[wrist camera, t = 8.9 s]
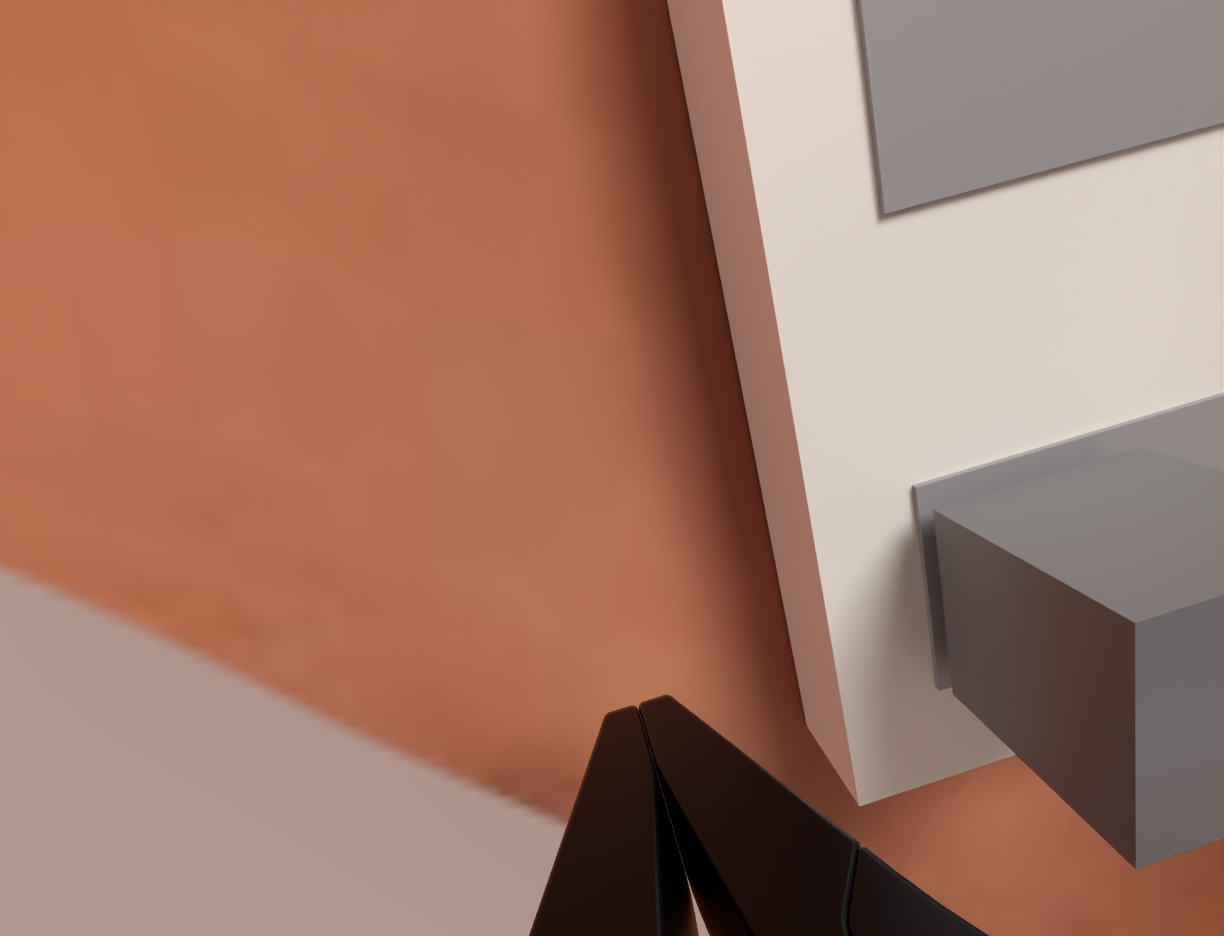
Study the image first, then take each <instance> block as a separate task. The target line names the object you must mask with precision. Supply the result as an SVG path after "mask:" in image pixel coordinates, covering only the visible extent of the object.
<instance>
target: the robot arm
mask: <svg viewBox="0 0 1224 936" xmlns="http://www.w3.org/2000/svg"><path fill="white" fill-rule="evenodd" d="M639 712H640V713H639ZM640 715H641V717H640ZM641 719H642V720H641ZM642 722H643V724H642ZM643 726H644V727H643ZM644 729H645V731H644ZM645 733H646V734H645ZM646 736H647V737H646ZM647 740H648V741H647ZM648 743H649V744H648ZM649 747H650V748H649ZM650 750H651V751H650ZM651 754H652V755H651ZM652 757H653V758H652ZM653 761H654V762H653ZM654 764H655V765H654ZM655 767H656V769H655ZM656 771H657V772H656ZM657 774H658V775H657ZM658 778H659V779H658ZM659 781H660V782H659ZM660 785H661V786H660ZM661 788H662V789H661ZM662 792H663V793H662ZM663 795H664V796H663ZM664 798H665V800H664ZM665 802H666V803H665ZM666 805H667V807H666ZM667 809H668V810H667ZM668 812H669V814H668ZM669 816H670V817H669ZM670 819H671V821H670ZM671 823H672V824H671ZM672 826H673V827H672ZM673 830H674V831H673ZM674 833H675V834H674ZM675 836H676V838H675ZM676 840H677V841H676ZM677 843H678V845H677ZM678 847H679V848H678ZM679 850H680V852H679ZM680 854H681V855H680ZM681 857H682V859H681ZM682 861H683V862H682ZM683 864H684V866H683ZM684 867H685V869H684ZM685 871H686V873H685ZM686 874H687V876H686ZM687 877H688V880H689V883H690V886H691V890H692V893H693V895H694V898H695V900H696V903H697V906H698V908H699V911H700V913H701V916H702V918H703V921H704V923H705V925H706V928H707V930H708V933H709V935H710V936H988V935H987V934H985V933H984V932H982V931H981V930H979V929H978V928H976V927H975V926H973V925H972V924H970V923H969V922H967V921H966V920H964V919H962V918H961V917H959V916H958V915H956V914H955V913H953V912H952V911H950V910H949V909H947V908H946V907H944V906H943V905H941V904H940V903H939V902H937V901H936V900H934V899H933V898H932V897H930V896H929V895H928V894H926V893H925V892H924V891H922V890H921V889H919V888H918V887H917V886H915V885H914V884H913V883H911V882H910V881H909V880H907V879H906V878H904V877H903V876H902V875H900V874H899V873H898V872H896V871H895V870H894V869H892V868H891V867H890V866H889V865H887V864H886V863H885V862H884V861H882V860H881V859H880V858H878V857H877V856H876V855H875V854H873V853H872V852H871V851H870V850H868V849H867V848H865V847H862V848H861V847H860V844H859V843H858V842H857V841H856V840H855V839H854V838H852V837H851V836H850V835H849V834H847V833H846V832H845V831H843V830H842V829H841V828H840V827H838V826H837V825H836V824H834V823H833V822H832V821H831V820H829V819H828V818H827V817H825V816H824V815H823V814H822V813H820V812H819V811H818V810H816V809H815V808H814V807H813V806H811V805H810V804H809V803H807V802H806V801H805V800H804V799H802V798H801V797H800V796H798V795H797V794H796V793H795V792H793V791H792V790H791V789H790V788H788V787H787V786H786V785H784V784H783V783H782V782H781V781H779V780H778V779H777V778H775V777H774V776H773V775H772V774H770V773H769V772H768V771H766V770H765V769H764V768H763V767H761V766H760V765H759V764H757V763H756V762H755V761H754V760H752V759H751V758H750V757H748V756H747V755H746V754H745V753H743V752H742V751H741V750H739V749H738V748H737V747H736V746H734V745H733V744H732V743H730V742H729V741H728V740H727V739H725V738H724V737H723V736H722V735H720V734H719V733H718V732H716V731H715V730H714V729H713V728H711V727H710V726H709V725H707V724H706V723H705V722H704V721H702V720H701V719H700V718H698V717H697V716H696V715H695V714H693V713H692V712H691V711H689V710H688V709H687V708H686V707H684V706H683V705H682V704H680V703H679V702H678V701H677V700H675V699H674V698H673V697H671V696H669V695H663V696H660V697H657V698H654V699H650V700H647V701H644V702H642V703H641V704H640V705H639V710H638V708H637V707H636V706H633V705H632V706H628V707H625V708H622V709H618V710H615V711H612V712H609V713H607V714H606V715H605V717H604V719H603V722H602V725H601V728H600V731H599V734H598V737H597V740H596V743H595V745H594V748H593V751H592V754H591V757H590V760H589V763H588V766H587V769H586V772H585V775H584V777H583V780H582V783H581V786H580V789H579V792H578V795H577V798H576V801H575V804H574V807H573V809H572V812H571V815H570V818H569V821H568V824H567V827H566V830H565V833H564V836H563V839H562V842H561V845H560V847H559V851H558V853H557V856H556V859H555V862H554V865H553V868H552V871H551V874H550V877H549V880H548V883H547V885H546V888H545V891H544V894H543V897H542V900H541V903H540V906H539V908H538V912H537V914H536V917H535V920H534V923H533V926H532V929H531V932H530V935H529V936H699V935H698V929H697V923H696V917H695V912H694V908H693V902H692V897H691V892H690V889H689V884H688V880H687Z"/></svg>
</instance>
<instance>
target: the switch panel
mask: <svg viewBox="0 0 1224 936" xmlns="http://www.w3.org/2000/svg"><path fill="white" fill-rule="evenodd" d="M667 3H668V8H669V13H670V19H671V24H672V29H673V34H674V39H675V45H676V50H677V55H678V60H679V65H680V71H681V76H682V81H683V86H684V91H685V97H686V102H687V107H688V112H689V117H690V123H691V128H692V133H693V138H694V143H695V148H696V154H697V159H698V164H699V169H700V174H701V180H702V185H703V190H704V195H705V200H706V206H707V211H708V216H709V221H710V226H711V232H712V237H713V242H714V247H715V252H716V258H717V263H718V268H719V273H720V278H721V283H722V289H723V294H724V299H725V304H726V309H727V315H728V320H729V325H730V330H731V335H732V341H733V346H734V351H735V356H736V361H737V367H738V372H739V377H740V382H741V387H742V393H743V398H744V403H745V408H746V413H747V418H748V424H749V429H750V434H751V439H752V444H753V450H754V455H755V460H756V465H757V470H758V476H759V481H760V486H761V491H762V496H763V502H764V507H765V512H766V517H767V522H768V528H769V533H770V538H771V543H772V548H773V553H774V559H775V564H776V569H777V574H778V579H779V585H780V590H781V595H782V600H783V605H784V611H785V616H786V621H787V626H788V631H789V637H790V642H791V647H792V652H793V657H794V663H795V668H796V673H797V678H798V683H799V688H800V694H801V699H802V704H803V709H804V714H805V720H806V725H807V727H808V729H809V730H810V732H811V733H812V735H813V736H814V738H815V739H816V741H817V742H818V744H819V746H820V747H821V749H822V750H823V752H824V753H825V755H826V756H827V758H828V759H829V761H830V762H831V764H832V765H833V767H834V769H835V770H836V772H837V773H838V775H839V776H840V778H841V779H842V781H843V782H844V784H845V785H846V787H847V789H848V790H849V792H850V793H851V795H852V796H853V798H854V799H855V801H856V802H857V804H858V805H859V807H860V806H863V805H866V804H869V803H872V802H875V801H878V800H881V799H884V798H887V797H890V796H893V795H896V794H899V793H902V792H905V791H908V790H911V789H914V788H917V787H920V786H923V785H926V784H929V783H932V782H935V781H938V780H941V779H944V778H947V777H950V776H954V775H957V774H960V773H963V772H966V771H969V770H972V769H975V768H978V767H981V766H984V765H987V764H990V763H993V762H996V761H999V760H1002V759H1005V758H1008V757H1011V756H1014V755H1016V754H1015V753H1014V752H1013V751H1012V750H1011V749H1010V748H1009V747H1007V746H1006V745H1005V744H1004V743H1003V742H1002V741H1001V740H1000V739H999V738H998V737H997V736H996V735H995V734H994V733H993V732H992V731H991V730H990V729H989V728H988V727H987V726H986V725H984V724H983V723H982V722H981V721H980V720H979V719H978V718H977V717H976V716H975V715H974V714H973V713H972V712H971V711H970V710H969V709H968V708H967V707H966V706H965V705H964V704H963V703H961V702H960V701H959V700H958V699H957V698H956V697H955V696H954V695H953V692H952V682H951V673H950V664H949V654H948V645H947V635H946V626H945V616H944V607H943V598H942V588H941V579H940V569H939V560H938V550H937V541H936V532H935V522H934V513H933V509H936V508H940V507H943V506H946V505H950V504H953V503H956V502H960V501H963V500H966V499H969V498H973V497H976V496H979V495H983V494H986V493H989V492H993V491H996V490H999V489H1003V488H1006V487H1009V486H1013V485H1016V484H1019V483H1022V482H1026V481H1029V480H1032V479H1036V478H1039V477H1042V476H1046V475H1049V474H1052V473H1056V472H1059V471H1062V470H1066V469H1069V468H1072V467H1076V466H1079V465H1082V464H1085V463H1089V462H1092V461H1095V460H1099V459H1102V458H1105V457H1109V456H1112V455H1115V454H1119V453H1122V452H1125V451H1129V450H1132V449H1135V448H1138V447H1140V448H1143V449H1147V450H1151V451H1154V452H1158V453H1161V454H1165V455H1168V456H1172V457H1176V458H1179V459H1183V460H1186V461H1190V462H1194V463H1197V464H1201V465H1204V466H1208V467H1211V468H1215V469H1219V470H1222V471H1224V0H667Z"/></svg>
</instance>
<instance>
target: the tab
mask: <svg viewBox="0 0 1224 936" xmlns="http://www.w3.org/2000/svg"><path fill="white" fill-rule="evenodd" d="M933 513H934V522H935V532H936V541H937V550H938V560H939V569H940V579H941V588H942V598H943V607H944V616H945V626H946V635H947V645H948V654H949V664H950V673H951V682H952V692H953V695H954V696H955V697H956V698H957V699H958V700H959V701H960V702H961V703H963V704H964V705H965V706H966V707H967V708H968V709H969V710H970V711H971V712H972V713H973V714H974V715H975V716H976V717H977V718H978V719H979V720H980V721H981V722H982V723H983V724H984V725H986V726H987V727H988V728H989V729H990V730H991V731H992V732H993V733H994V734H995V735H996V736H997V737H998V738H999V739H1000V740H1001V741H1002V742H1003V743H1004V744H1005V745H1006V746H1007V747H1009V748H1010V749H1011V750H1012V751H1013V752H1014V753H1015V754H1016V755H1017V756H1018V757H1019V758H1020V759H1021V760H1022V761H1023V762H1024V763H1025V764H1026V765H1027V766H1028V767H1029V768H1031V769H1032V770H1033V771H1034V772H1035V773H1036V774H1037V775H1038V776H1039V777H1040V778H1041V779H1042V780H1043V781H1044V782H1045V783H1046V784H1047V785H1048V786H1049V787H1050V788H1051V789H1052V790H1054V791H1055V792H1056V793H1057V794H1058V795H1059V796H1060V797H1061V798H1062V799H1063V800H1064V801H1065V802H1066V803H1067V804H1068V805H1069V806H1070V807H1071V808H1072V809H1073V810H1074V811H1075V812H1077V813H1078V814H1079V815H1080V816H1081V817H1082V818H1083V819H1084V820H1085V821H1086V822H1087V823H1088V824H1089V825H1090V826H1091V827H1092V828H1093V829H1094V830H1095V831H1096V832H1097V833H1098V834H1100V835H1101V836H1102V837H1103V838H1104V839H1105V840H1106V841H1107V842H1108V843H1109V844H1110V845H1111V846H1112V847H1113V848H1114V849H1115V850H1116V851H1117V852H1118V853H1119V854H1120V855H1122V856H1123V857H1124V858H1125V859H1126V860H1127V861H1128V862H1129V863H1130V864H1131V865H1132V866H1133V867H1134V868H1135V869H1138V868H1140V867H1143V866H1146V865H1149V864H1152V863H1155V862H1158V861H1161V860H1164V859H1166V858H1169V857H1172V856H1175V855H1178V854H1181V853H1184V852H1187V851H1190V850H1192V849H1195V848H1198V847H1201V846H1204V845H1207V844H1210V843H1213V842H1216V841H1218V840H1221V839H1224V471H1222V470H1219V469H1215V468H1211V467H1208V466H1204V465H1201V464H1197V463H1194V462H1190V461H1186V460H1183V459H1179V458H1176V457H1172V456H1168V455H1165V454H1161V453H1158V452H1154V451H1151V450H1147V449H1143V448H1140V447H1138V448H1135V449H1132V450H1129V451H1125V452H1122V453H1119V454H1115V455H1112V456H1109V457H1105V458H1102V459H1099V460H1095V461H1092V462H1089V463H1085V464H1082V465H1079V466H1076V467H1072V468H1069V469H1066V470H1062V471H1059V472H1056V473H1052V474H1049V475H1046V476H1042V477H1039V478H1036V479H1032V480H1029V481H1026V482H1022V483H1019V484H1016V485H1013V486H1009V487H1006V488H1003V489H999V490H996V491H993V492H989V493H986V494H983V495H979V496H976V497H973V498H969V499H966V500H963V501H960V502H956V503H953V504H950V505H946V506H943V507H940V508H936V509H933Z"/></svg>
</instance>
